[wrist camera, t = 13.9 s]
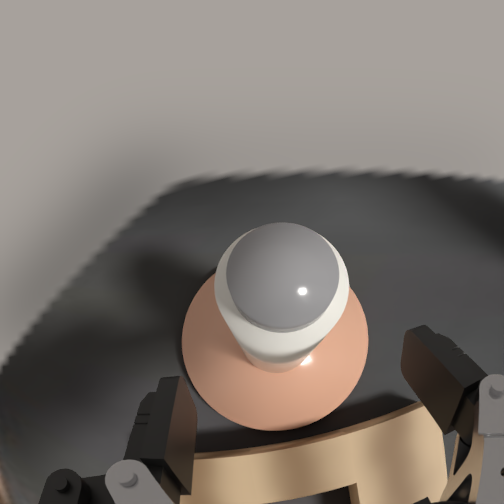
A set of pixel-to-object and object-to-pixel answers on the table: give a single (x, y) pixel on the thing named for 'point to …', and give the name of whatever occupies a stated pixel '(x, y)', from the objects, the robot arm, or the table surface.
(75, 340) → the table surface
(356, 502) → the mill caddy
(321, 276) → the pepper mill
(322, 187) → the table surface
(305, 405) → the terracotta plate
